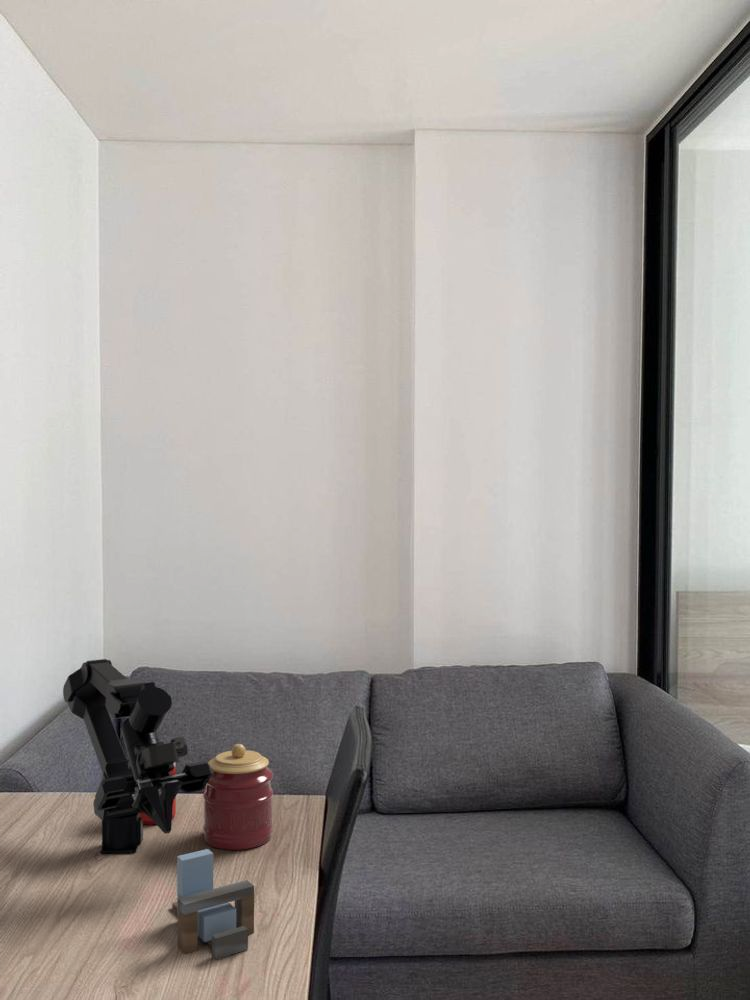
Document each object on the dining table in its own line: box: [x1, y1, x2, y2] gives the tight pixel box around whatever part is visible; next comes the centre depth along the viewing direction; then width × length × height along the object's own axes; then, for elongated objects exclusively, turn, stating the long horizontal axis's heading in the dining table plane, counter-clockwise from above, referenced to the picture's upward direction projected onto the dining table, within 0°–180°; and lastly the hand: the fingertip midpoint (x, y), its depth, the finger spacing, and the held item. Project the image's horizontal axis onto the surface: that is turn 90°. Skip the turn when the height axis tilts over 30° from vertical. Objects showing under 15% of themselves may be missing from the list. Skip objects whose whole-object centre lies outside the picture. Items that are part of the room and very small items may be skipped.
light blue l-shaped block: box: [176, 848, 236, 943], centre depth 138 cm, size 10×5×9 cm, turn 34°
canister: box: [202, 743, 274, 851], centre depth 173 cm, size 13×13×18 cm
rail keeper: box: [171, 879, 255, 960], centre depth 138 cm, size 18×11×7 cm, turn 34°
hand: (168, 832), depth 150 cm, fingers closed
